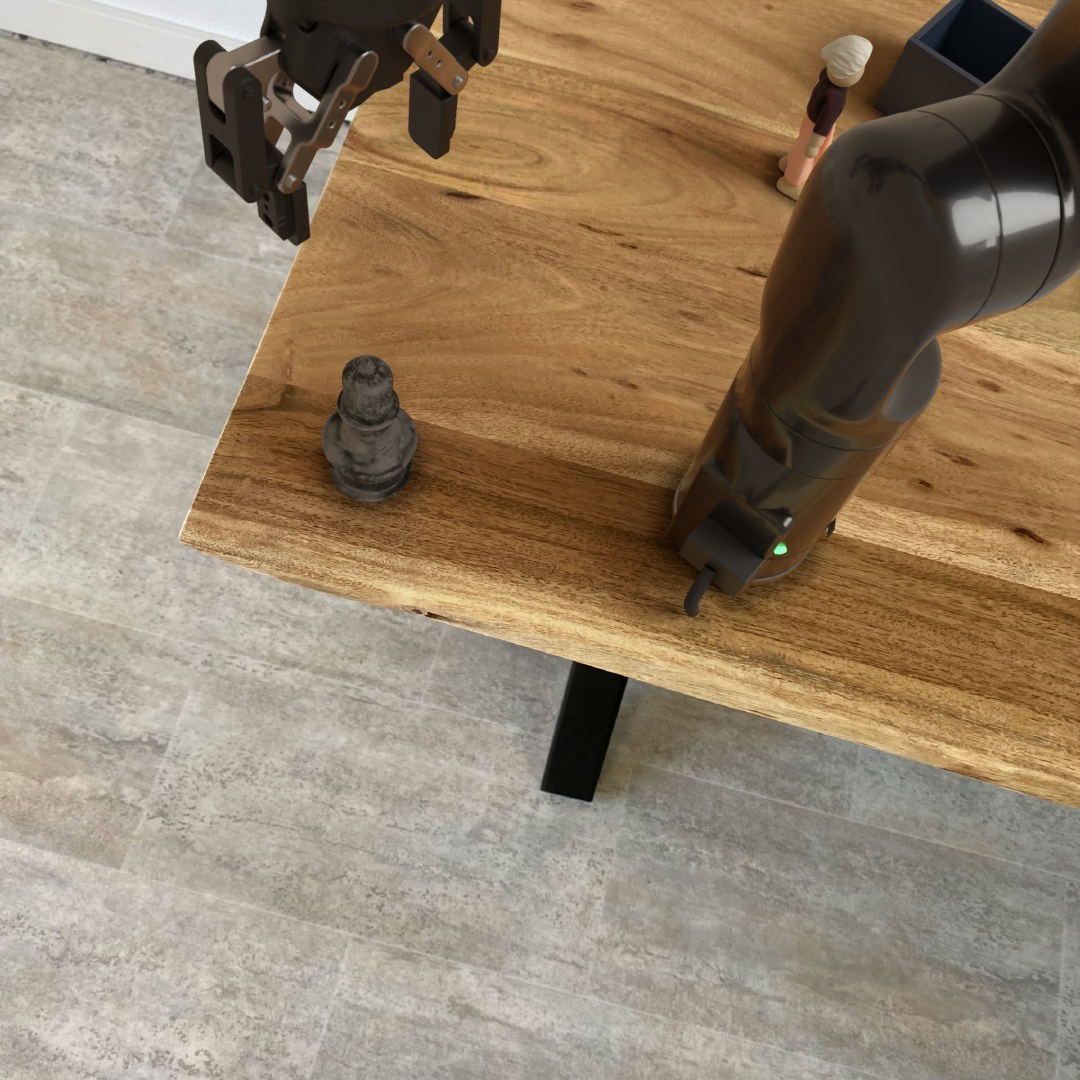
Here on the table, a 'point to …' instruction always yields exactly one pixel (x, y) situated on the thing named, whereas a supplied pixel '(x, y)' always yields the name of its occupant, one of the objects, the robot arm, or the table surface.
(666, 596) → the table surface
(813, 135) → the grandmother figurine
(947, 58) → the bin
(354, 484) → the grey chess piece
